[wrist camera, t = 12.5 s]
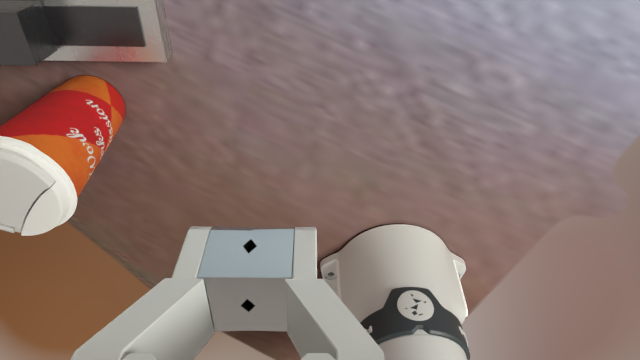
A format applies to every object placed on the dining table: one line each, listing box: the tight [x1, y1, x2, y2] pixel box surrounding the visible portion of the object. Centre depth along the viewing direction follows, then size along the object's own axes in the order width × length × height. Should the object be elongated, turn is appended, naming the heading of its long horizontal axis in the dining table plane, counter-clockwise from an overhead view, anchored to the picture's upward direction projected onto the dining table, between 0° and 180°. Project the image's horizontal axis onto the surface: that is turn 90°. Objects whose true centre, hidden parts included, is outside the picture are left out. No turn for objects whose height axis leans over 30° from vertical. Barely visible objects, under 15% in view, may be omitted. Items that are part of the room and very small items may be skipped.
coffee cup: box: [0, 75, 126, 236], centre depth 36 cm, size 8×8×15 cm
